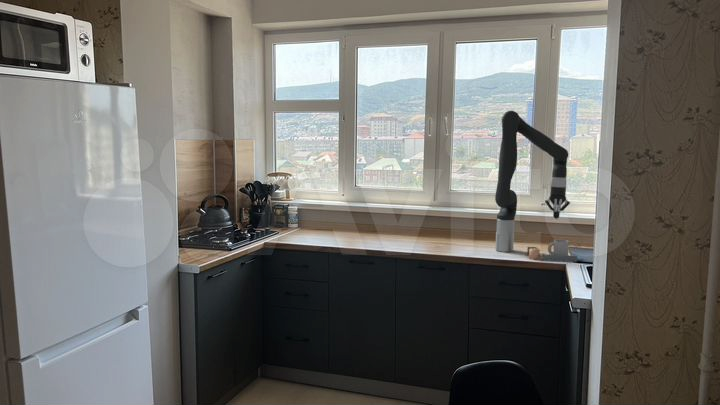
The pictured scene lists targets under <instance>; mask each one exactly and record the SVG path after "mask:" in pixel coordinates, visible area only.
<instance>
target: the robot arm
mask: <svg viewBox="0 0 720 405" xmlns="http://www.w3.org/2000/svg"><path fill="white" fill-rule="evenodd" d="M501 132H502V135H501V142H500V149H499V156H498V157H499V158H498V173H497V174H498V175H497V184H496V189H495V196H494V198H495V199H494V200H495V203H496V205H497V206H498V207H500V210H499V211H498V213H497V214H496V230H495V251H496V252H504V253H509V252H511V253H512V252H514V242H515V238H514V237H515V218H516V215H517V208H518V196H517V193H516V191H514V190H512V189H511V185H512V184H511V183H512V179H513V177H514V174H515V171H516V169H517V166H518V165H517V164H518V142H517V136H518V133H519V134H520V135H521V136H523V137H524V138H525V139H527V140H528V141H530V142H531V144H533V145H535V146H536V147H537V148H538V149H540V150H541V151H543V152H545V153H547V154H548V155H550V156H551V157H552V158H553V160H552V161H553V164H552V165H553V168H552V172H551V181H550V193H549V194H550V195H549V197H548V199H546V200H544V203H545V204H546V206H548V208H549V210H550V211H552V212H553V215H552V218H554V219H557V220H558V219H559V218H560V213H561V212H564V211H565V209H566V208H567V207H568V206H569V205H570V204H571V202H570V201H569V200H568V199H567V196H566V195H567V174H568V173H567V172H568V169H567V165H568V164H567V162H568V158H569V151H568V150H567V149H566V148H565V147H564V146H561V145H560V144H558V143H556V142H555V141H554V140H553V139H552V138H550V137H549V136H547V135H546V134H545V133H543V132H541V131H539V129H536V128H534V127H533V126H531V125H530V124H528V122H526V121H525V119H523V118H521V116H520V115H519V114H518V112H516V111H514V110H507V111H505V112H504V113H503V115H501ZM550 203H551V204H552V205H553V206H552V205H551V204H550Z"/></svg>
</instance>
